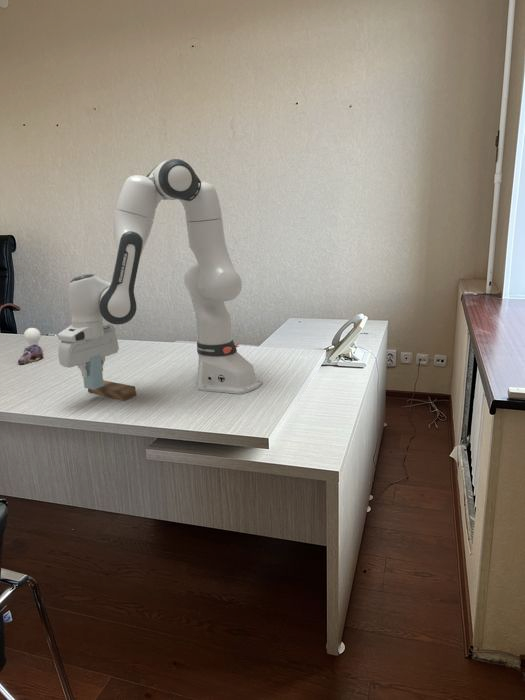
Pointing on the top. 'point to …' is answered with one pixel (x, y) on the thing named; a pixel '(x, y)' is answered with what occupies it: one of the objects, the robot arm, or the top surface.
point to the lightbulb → (32, 336)
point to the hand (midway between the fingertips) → (92, 374)
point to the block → (94, 373)
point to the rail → (115, 390)
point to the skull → (31, 354)
